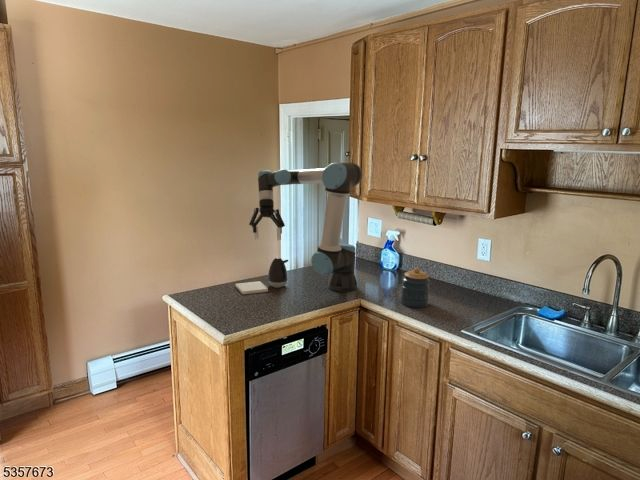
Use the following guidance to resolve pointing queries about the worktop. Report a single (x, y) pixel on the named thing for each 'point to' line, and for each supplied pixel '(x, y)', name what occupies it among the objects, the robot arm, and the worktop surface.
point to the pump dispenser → (277, 273)
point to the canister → (415, 289)
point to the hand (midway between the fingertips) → (268, 239)
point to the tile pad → (251, 287)
